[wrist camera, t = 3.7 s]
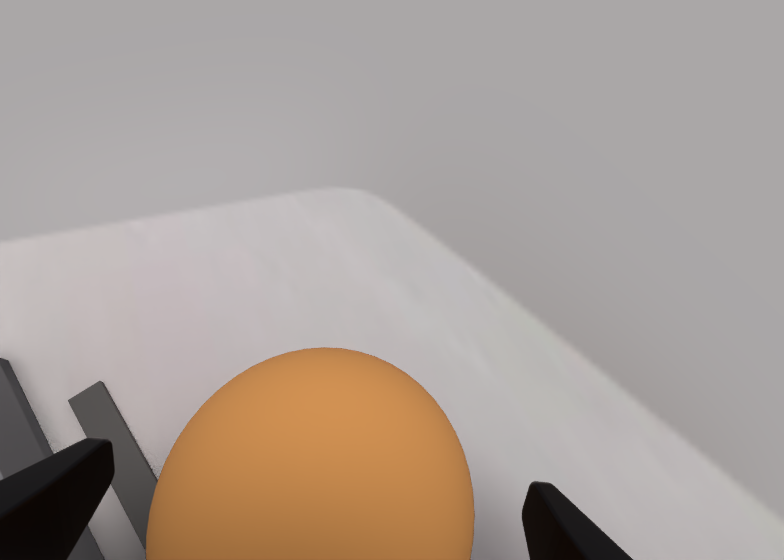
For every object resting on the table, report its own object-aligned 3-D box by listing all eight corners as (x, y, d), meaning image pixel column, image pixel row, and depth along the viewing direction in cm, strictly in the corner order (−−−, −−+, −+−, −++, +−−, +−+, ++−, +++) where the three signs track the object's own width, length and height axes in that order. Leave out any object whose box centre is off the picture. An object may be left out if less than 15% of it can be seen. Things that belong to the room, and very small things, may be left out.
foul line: (271, 787, 12) (270, 792, 12) (70, 401, 16) (67, 400, 16) (306, 747, 12) (305, 751, 12) (102, 381, 16) (99, 380, 16)
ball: (295, 716, 9) (223, 1063, 4) (163, 480, 11) (-21, 475, 5) (483, 511, 11) (613, 534, 6) (348, 343, 13) (351, 241, 7)
